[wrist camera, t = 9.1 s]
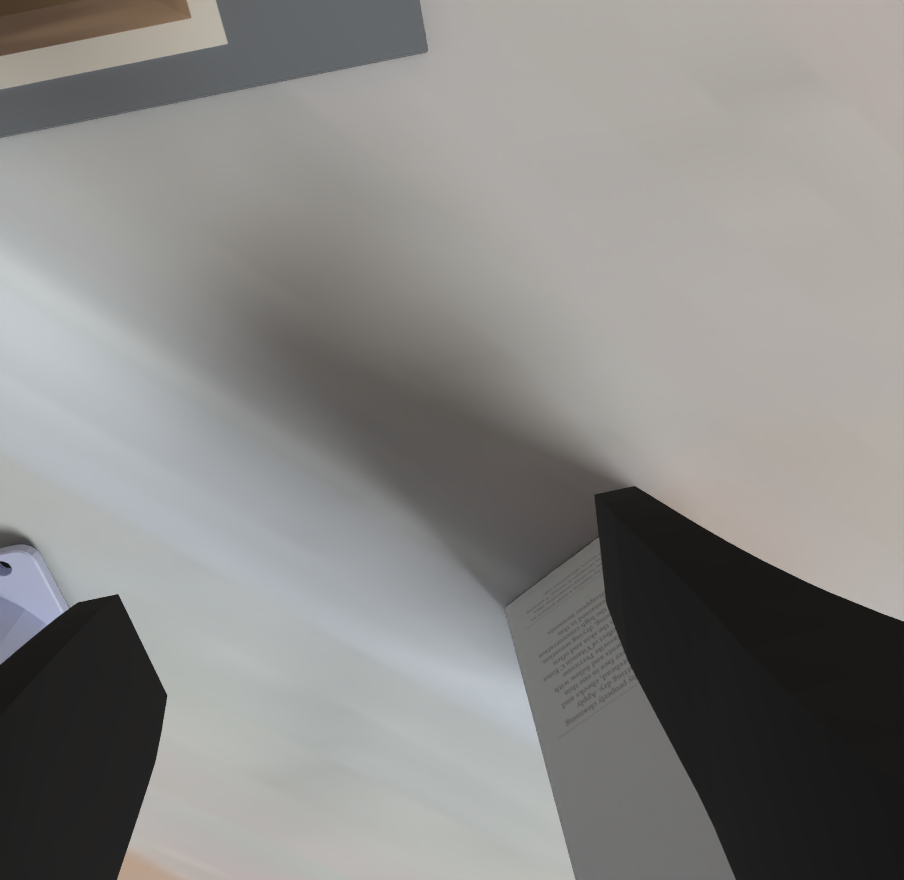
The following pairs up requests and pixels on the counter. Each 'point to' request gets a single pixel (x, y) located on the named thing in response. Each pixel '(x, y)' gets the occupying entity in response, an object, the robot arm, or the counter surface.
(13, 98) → the mat
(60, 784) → the robot arm
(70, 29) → the walnut block
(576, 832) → the small box
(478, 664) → the counter surface
